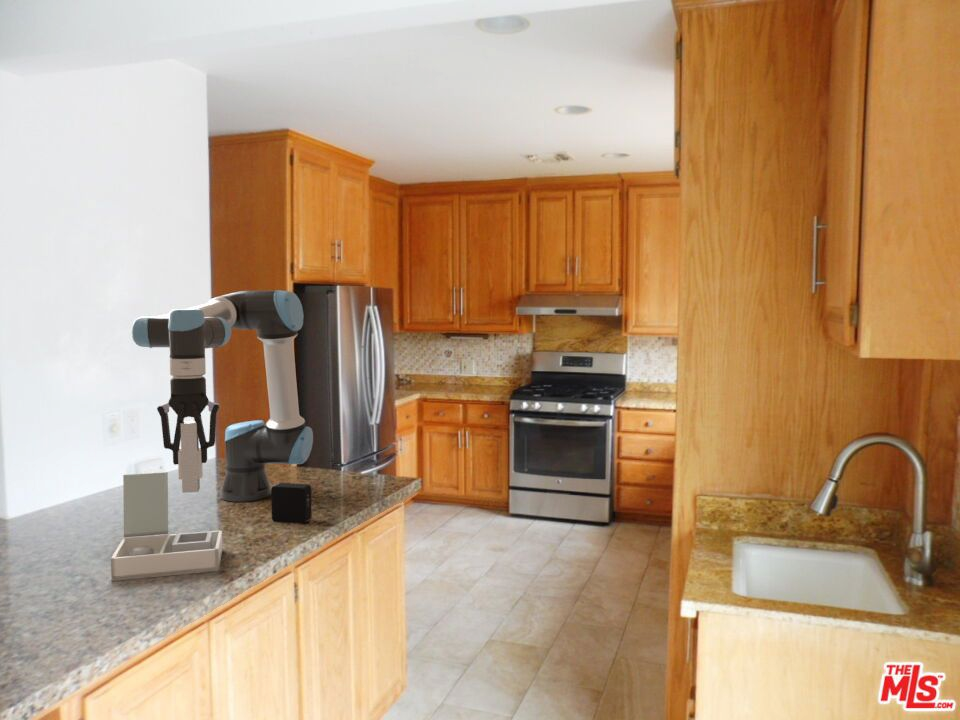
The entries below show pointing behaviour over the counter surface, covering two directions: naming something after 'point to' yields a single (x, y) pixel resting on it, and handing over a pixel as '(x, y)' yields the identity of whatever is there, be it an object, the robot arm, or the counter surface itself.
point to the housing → (167, 555)
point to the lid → (145, 504)
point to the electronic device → (291, 503)
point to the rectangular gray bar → (189, 457)
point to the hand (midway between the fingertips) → (190, 477)
